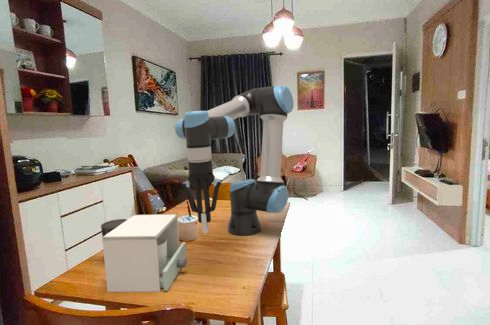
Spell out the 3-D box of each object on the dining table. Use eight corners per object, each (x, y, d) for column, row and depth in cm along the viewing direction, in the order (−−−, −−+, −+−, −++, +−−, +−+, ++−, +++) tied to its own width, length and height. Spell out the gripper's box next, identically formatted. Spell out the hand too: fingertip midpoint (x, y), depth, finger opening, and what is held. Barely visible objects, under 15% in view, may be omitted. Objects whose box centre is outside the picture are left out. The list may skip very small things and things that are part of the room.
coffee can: (100, 267, 109) (96, 228, 107) (110, 254, 119) (106, 219, 117) (129, 264, 110) (126, 226, 108) (137, 253, 120) (134, 218, 118)
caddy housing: (180, 258, 113) (177, 213, 111) (159, 291, 91) (155, 236, 89) (138, 259, 114) (134, 214, 112) (107, 291, 92) (102, 237, 90)
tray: (193, 257, 113) (192, 241, 112) (175, 290, 90) (174, 271, 90) (144, 258, 114) (142, 242, 113) (114, 290, 92) (112, 271, 91)
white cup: (171, 272, 100) (169, 243, 98) (146, 278, 96) (143, 248, 95) (165, 263, 107) (163, 235, 105) (142, 268, 103) (140, 240, 102)
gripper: (221, 157, 100) (226, 226, 103) (182, 159, 101) (188, 228, 104) (218, 161, 92) (223, 235, 96) (176, 163, 93) (183, 236, 97)
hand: (205, 231), depth 100 cm, fingers closed
